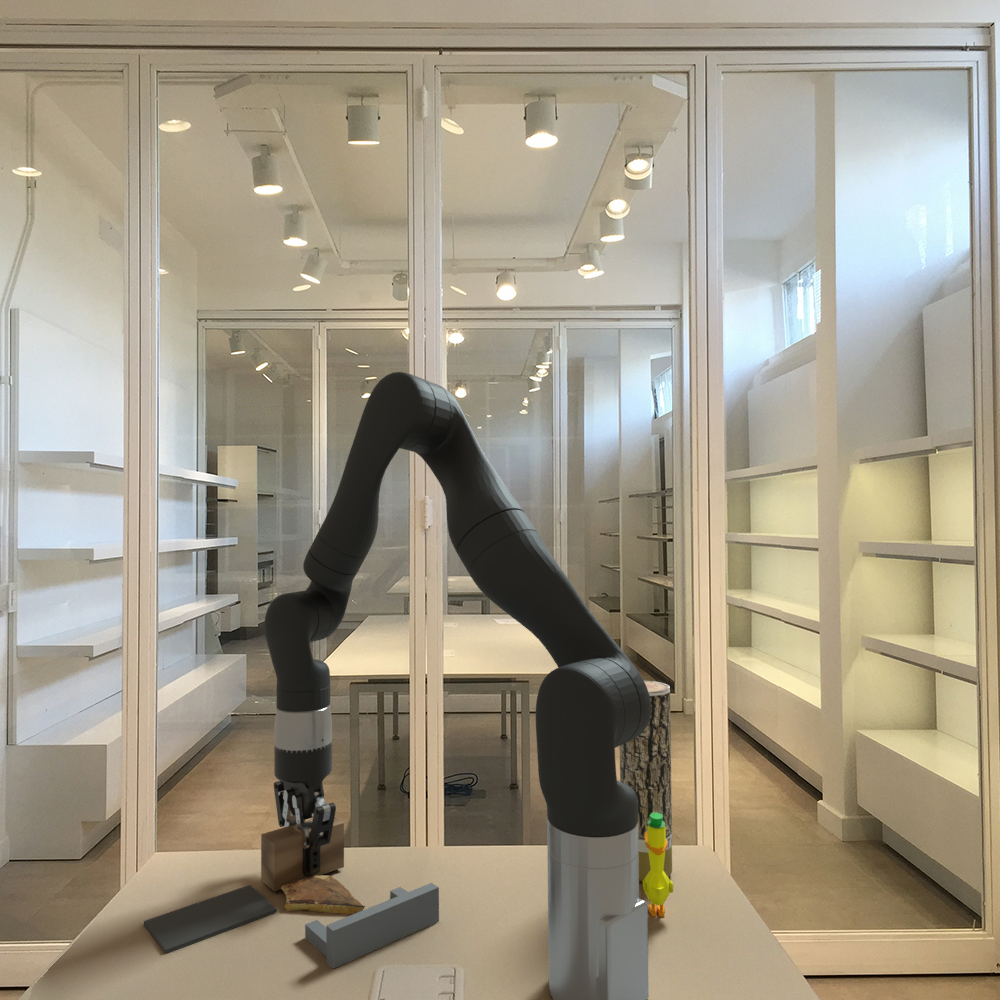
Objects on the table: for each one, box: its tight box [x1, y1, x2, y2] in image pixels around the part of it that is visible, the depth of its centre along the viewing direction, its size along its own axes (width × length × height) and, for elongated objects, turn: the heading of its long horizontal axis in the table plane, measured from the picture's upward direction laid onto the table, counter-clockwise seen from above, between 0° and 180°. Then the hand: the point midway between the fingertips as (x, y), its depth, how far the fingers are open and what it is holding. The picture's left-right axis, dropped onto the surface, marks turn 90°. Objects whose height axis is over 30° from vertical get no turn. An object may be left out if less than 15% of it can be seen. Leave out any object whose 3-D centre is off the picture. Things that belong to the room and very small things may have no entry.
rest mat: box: [143, 884, 278, 954], centre depth 90 cm, size 8×13×1 cm, turn 131°
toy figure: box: [642, 812, 674, 918], centre depth 91 cm, size 7×4×12 cm, turn 175°
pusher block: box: [260, 816, 345, 892], centre depth 101 cm, size 4×10×6 cm, turn 131°
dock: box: [304, 882, 440, 969], centre depth 88 cm, size 8×14×4 cm, turn 131°
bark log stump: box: [619, 680, 673, 883], centre depth 101 cm, size 7×7×25 cm
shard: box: [280, 874, 366, 915], centre depth 93 cm, size 11×8×2 cm
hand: (303, 867), depth 101 cm, fingers closed on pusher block, 4 cm apart
